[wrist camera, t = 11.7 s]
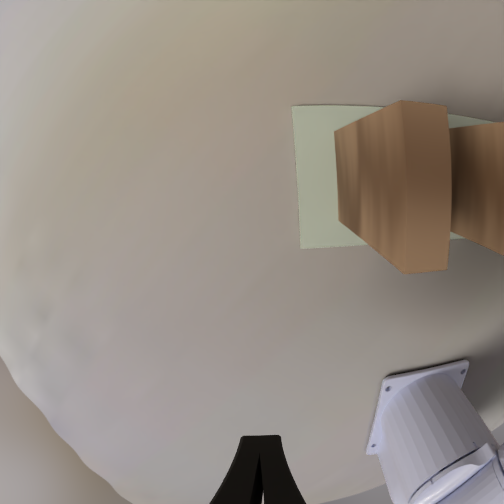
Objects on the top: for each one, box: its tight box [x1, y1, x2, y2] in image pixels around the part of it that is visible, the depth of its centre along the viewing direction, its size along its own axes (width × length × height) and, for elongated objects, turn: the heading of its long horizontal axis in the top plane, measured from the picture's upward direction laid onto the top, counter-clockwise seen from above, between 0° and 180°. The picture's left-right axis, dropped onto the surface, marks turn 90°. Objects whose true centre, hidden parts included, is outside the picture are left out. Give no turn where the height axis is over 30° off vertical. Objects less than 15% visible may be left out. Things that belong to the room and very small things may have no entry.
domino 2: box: [449, 122, 504, 256], centre depth 12 cm, size 5×2×9 cm, turn 4°
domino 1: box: [334, 100, 452, 274], centre depth 12 cm, size 5×2×9 cm, turn 4°
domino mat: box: [291, 105, 497, 249], centre depth 16 cm, size 8×26×1 cm, turn 94°
